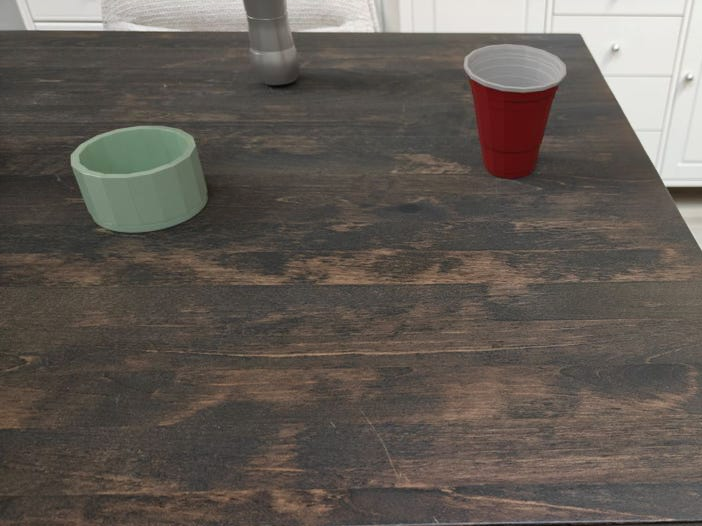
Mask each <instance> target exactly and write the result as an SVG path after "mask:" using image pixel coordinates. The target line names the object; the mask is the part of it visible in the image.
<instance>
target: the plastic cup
mask: <svg viewBox="0 0 702 526" xmlns="http://www.w3.org/2000/svg"><path fill="white" fill-rule="evenodd" d="M463 69H464V72H465V73H466V74H467V77H468V81H469V85H470V90H471V95H472V98H473V106H474V114H475V121H476V126H477V127H476V128H477V135H478V140H479V142H480V148H481V155H482V163H483V165H484V168H485V170H486V171H487V172H488V173H489V174H491V175H493V176H495V177H499V178H503V179H519V178H524V177H526V176H528V175H530V174H531V173H532V172H533V171H535V166H536V165H537V161H538V157H539V154H540V149H541V145H542V143H543V141H544V136H545V133H546V128H547V124H548V120H549V116H550V112H551V109H552V106H553V102H554V99H555V97H556V94H557V91H558V89H559V86H560V84H561V82H563V80H564V79H565V78H566V75H567V66H566V63H564V62H563V61H562V59H560V58H559V56H557V55H555V54H553V53H551V52H548V51H547V50H545V49H541V48H537V47H535V46H534V47H533V46H529V45H524V44H523V45H522V44H513V43H512V44H510V43H502V44H492V45H491V44H490V45H486V46H483V47H480V48H476V49H474V50H472V51H471V52H470V53H469V54H467V55H466V56H464V62H463Z"/></svg>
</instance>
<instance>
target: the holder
mask: <svg viewBox="0 0 702 526" xmlns="http://www.w3.org/2000/svg"><path fill="white" fill-rule="evenodd" d="M198 151H199V150H198V147H197V145H196V141H195V138H194V136H193V135H191V134H189V133H188V132H187V131H184V130H183V129H181V128H176V127H173V126H172V127H171V126H167V125H137V126H136V125H135V126H130V127H123V128H117V129H113V130H110V131H107V132H103V133H101V134H97V135H95V136H93V137H91V138H89V139H87V140H85V141H84V142H83V143H80V144H79V145H78V146H77V147H76V148H75V150H74V151H73V152H72V153H71V154H70V166H71V169H72V171H73V174H74V177H75V179H76V182H77V185H78V187H79V190H80V193H81V196H82V199H83V201H84V203H85V207H86V209H87V211H88V213H89V214H90V217H91V218H92V221H93V222H94V223H95V224H97V225H98V226H100V227H102V228H103V229H106V230H110V231H112V232H117V233H118V232H119V233H128V234H129V233H130V234H137V233H149V232H155V231H161V230H165V229H168V228H172V227H174V226H178V225H180V224H182V223H184V222H187V221H188V220H191V219H193V218H194V217H195V216H196V215H197V214H199V213H200V212H201V211H202V210H203V209H204V208H205V207H206V206H207V203H208V200H209V192H208V188H207V183H206V180H205V175H204V172H203V168H202V164H201V163H202V162H201V160H200V159H201V158H200V155H199V152H198Z"/></svg>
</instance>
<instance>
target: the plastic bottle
mask: <svg viewBox="0 0 702 526" xmlns="http://www.w3.org/2000/svg"><path fill="white" fill-rule="evenodd" d="M242 4H243V5H242V6H243V8H244V12H245V17H246V21H247V29H248V39H249V46H250V47H249V61H250V67H251V70H252V73H253V76H254V78H256V80H258V82H260V83H261V84H263V85H268V86H269V85H270V86H281V85H282V86H283V85H284V86H285V85H288V84H291V83H294V82H295V81H296V80H298V77H299V76H300V72H301V61H300V57H299V53H298V50H297V47H296V45H295V42H294V38H293V33H292V29H291V26H290V21H289V13H288V4H287V0H242Z"/></svg>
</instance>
